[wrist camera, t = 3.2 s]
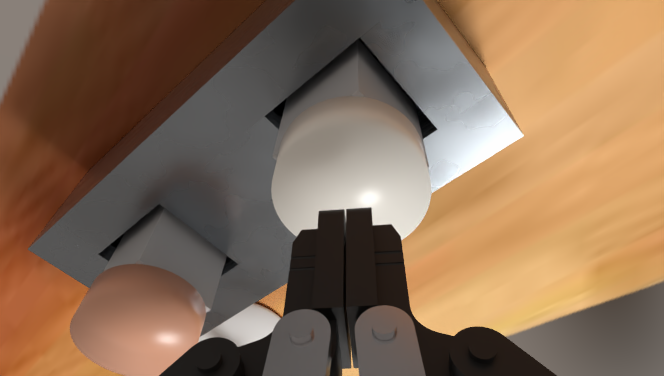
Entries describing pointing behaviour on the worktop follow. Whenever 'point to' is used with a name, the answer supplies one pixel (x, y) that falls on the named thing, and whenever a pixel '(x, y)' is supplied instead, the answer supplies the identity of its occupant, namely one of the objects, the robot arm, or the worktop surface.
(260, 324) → the wineglass
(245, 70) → the plunger panel
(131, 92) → the worktop surface
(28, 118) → the worktop surface
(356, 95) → the white ball knob
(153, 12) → the worktop surface
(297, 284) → the robot arm
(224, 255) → the plunger
